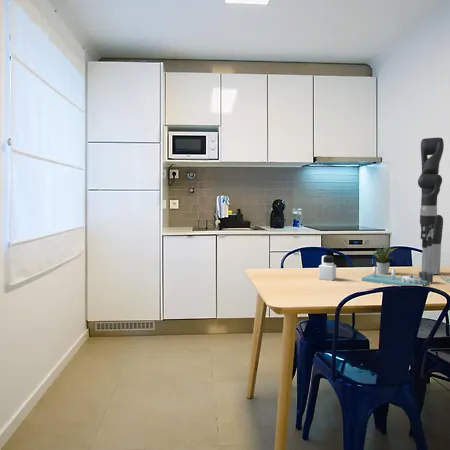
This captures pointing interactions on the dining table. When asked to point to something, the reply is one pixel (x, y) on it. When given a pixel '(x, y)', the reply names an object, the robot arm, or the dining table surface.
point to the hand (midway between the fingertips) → (427, 247)
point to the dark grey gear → (426, 276)
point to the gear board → (394, 279)
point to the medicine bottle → (327, 268)
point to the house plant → (383, 260)
